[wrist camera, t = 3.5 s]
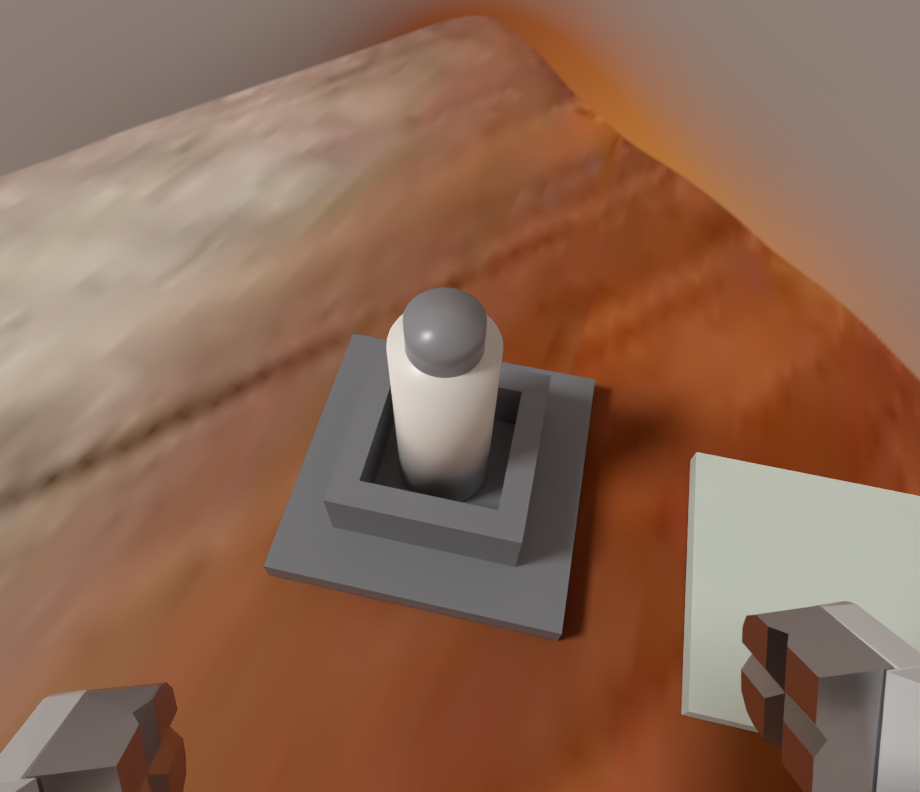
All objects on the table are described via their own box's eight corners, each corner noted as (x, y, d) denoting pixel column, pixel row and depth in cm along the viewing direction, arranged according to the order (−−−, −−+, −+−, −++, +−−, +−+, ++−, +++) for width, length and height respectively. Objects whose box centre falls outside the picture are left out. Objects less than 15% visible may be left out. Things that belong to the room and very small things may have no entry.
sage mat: (987, 786, 22) (1004, 785, 21) (681, 714, 23) (688, 711, 22) (937, 509, 27) (949, 502, 27) (690, 460, 28) (696, 451, 28)
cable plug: (478, 513, 26) (493, 381, 18) (390, 495, 26) (368, 356, 18) (494, 436, 28) (515, 285, 20) (412, 419, 28) (401, 264, 20)
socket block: (557, 640, 24) (573, 615, 21) (269, 574, 25) (246, 542, 22) (590, 391, 30) (607, 345, 27) (355, 346, 31) (346, 297, 28)
